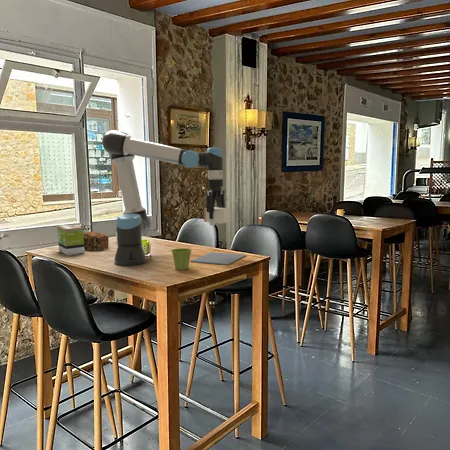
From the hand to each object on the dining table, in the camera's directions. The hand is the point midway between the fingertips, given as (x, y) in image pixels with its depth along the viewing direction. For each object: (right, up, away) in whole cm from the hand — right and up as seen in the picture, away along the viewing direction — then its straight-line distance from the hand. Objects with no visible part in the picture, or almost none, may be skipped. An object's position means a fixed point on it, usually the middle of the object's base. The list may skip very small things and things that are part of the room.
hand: (216, 224), depth 218 cm
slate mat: (+2, -17, -1) cm, 18 cm away
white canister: (+6, +5, -4) cm, 8 cm away
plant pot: (-15, -20, -22) cm, 33 cm away
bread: (-73, -14, +31) cm, 81 cm away
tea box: (-80, -16, +19) cm, 84 cm away
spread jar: (-58, -11, +54) cm, 80 cm away
